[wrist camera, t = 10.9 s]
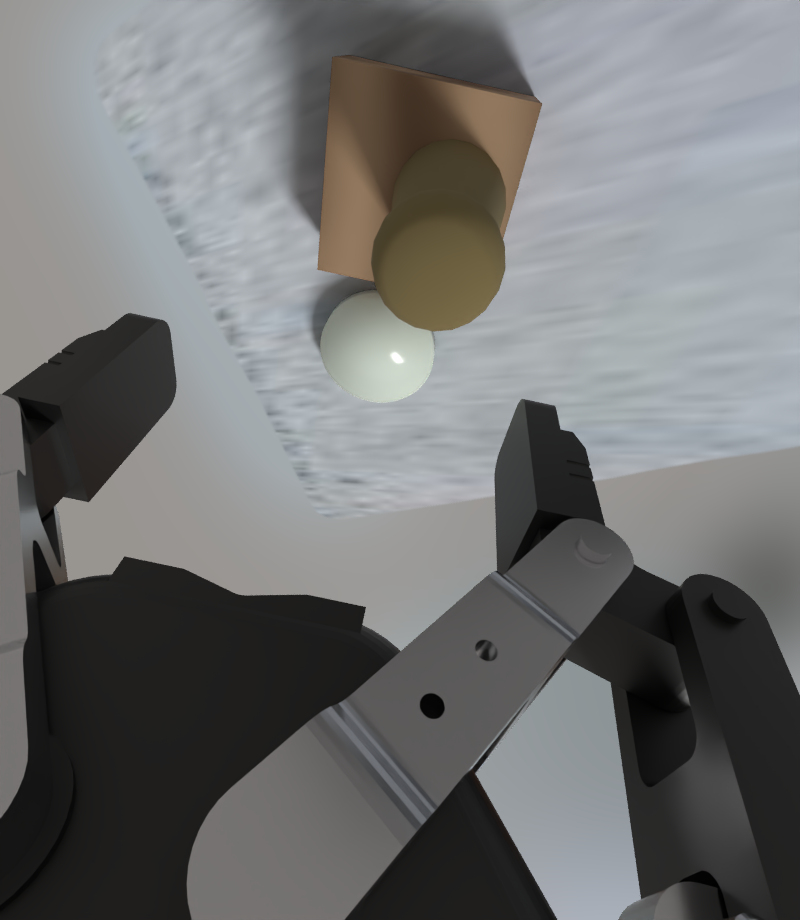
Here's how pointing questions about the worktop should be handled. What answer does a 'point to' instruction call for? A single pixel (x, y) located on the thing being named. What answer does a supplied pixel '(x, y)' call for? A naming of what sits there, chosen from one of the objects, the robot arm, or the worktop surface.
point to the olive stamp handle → (442, 237)
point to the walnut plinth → (404, 145)
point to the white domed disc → (375, 350)
